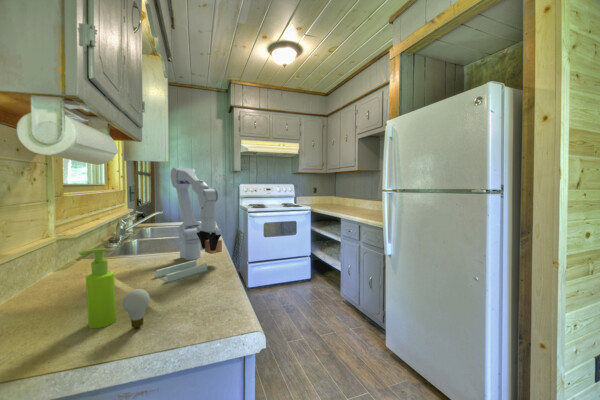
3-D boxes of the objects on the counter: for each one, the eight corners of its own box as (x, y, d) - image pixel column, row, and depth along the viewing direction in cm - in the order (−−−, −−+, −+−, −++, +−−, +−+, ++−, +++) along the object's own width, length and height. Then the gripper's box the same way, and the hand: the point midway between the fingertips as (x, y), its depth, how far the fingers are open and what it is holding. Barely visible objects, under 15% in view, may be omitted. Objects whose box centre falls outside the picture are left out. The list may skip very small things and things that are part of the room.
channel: (154, 279, 101) (153, 269, 100) (192, 268, 113) (192, 259, 113) (170, 287, 94) (170, 276, 93) (209, 274, 106) (209, 264, 106)
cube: (204, 240, 114) (215, 238, 117) (205, 251, 114) (215, 249, 118) (211, 242, 110) (221, 240, 114) (211, 254, 111) (221, 251, 114)
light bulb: (122, 336, 64) (120, 296, 64) (125, 324, 70) (123, 287, 69) (150, 330, 67) (148, 292, 66) (151, 319, 72) (149, 283, 72)
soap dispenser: (81, 324, 70) (77, 249, 68) (113, 314, 75) (109, 244, 73) (85, 333, 66) (81, 253, 64) (118, 322, 71) (115, 248, 69)
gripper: (189, 216, 112) (190, 248, 114) (210, 220, 104) (211, 254, 105) (204, 215, 118) (205, 245, 119) (225, 218, 110) (225, 250, 111)
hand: (209, 249), depth 112 cm, fingers closed on cube, 5 cm apart
